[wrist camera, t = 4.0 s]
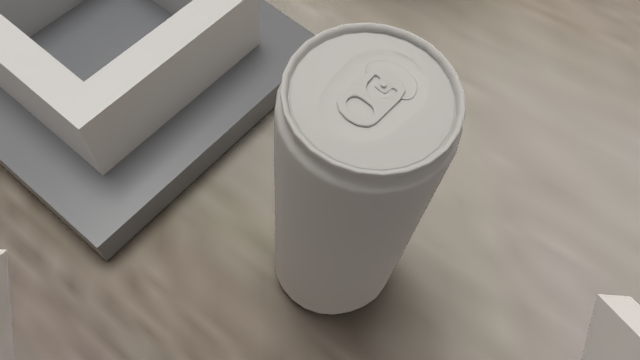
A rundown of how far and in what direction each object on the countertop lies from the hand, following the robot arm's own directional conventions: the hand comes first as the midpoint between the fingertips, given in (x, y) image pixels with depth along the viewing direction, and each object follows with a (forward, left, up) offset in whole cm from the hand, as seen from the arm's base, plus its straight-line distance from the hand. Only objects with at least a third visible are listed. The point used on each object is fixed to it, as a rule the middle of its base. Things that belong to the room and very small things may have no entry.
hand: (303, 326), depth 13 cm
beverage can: (+2, -5, -11) cm, 12 cm away
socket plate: (+16, -6, -10) cm, 20 cm away
